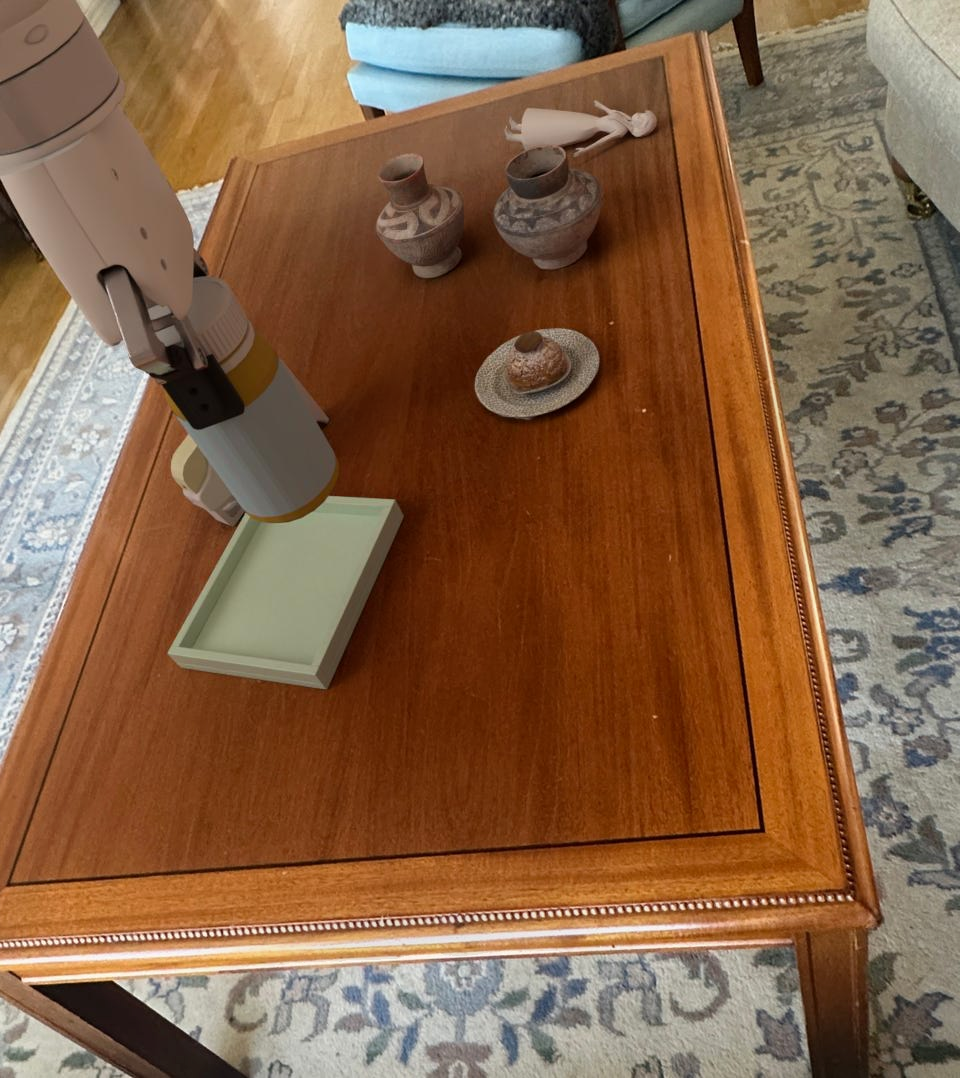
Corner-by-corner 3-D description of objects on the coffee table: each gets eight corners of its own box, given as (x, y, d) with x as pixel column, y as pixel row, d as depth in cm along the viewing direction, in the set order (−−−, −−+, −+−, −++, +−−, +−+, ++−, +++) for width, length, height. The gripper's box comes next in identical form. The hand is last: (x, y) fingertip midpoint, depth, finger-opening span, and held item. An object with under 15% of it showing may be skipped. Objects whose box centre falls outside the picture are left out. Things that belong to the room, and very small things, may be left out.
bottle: (353, 445, 66) (252, 262, 55) (328, 525, 62) (213, 345, 51) (263, 454, 69) (149, 281, 58) (232, 532, 64) (103, 361, 53)
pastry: (609, 406, 87) (599, 367, 84) (480, 438, 90) (465, 402, 86) (593, 324, 95) (583, 285, 92) (475, 355, 97) (461, 319, 94)
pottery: (412, 236, 115) (375, 143, 106) (621, 216, 105) (599, 111, 96) (381, 299, 108) (339, 205, 100) (600, 283, 99) (575, 178, 90)
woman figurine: (517, 88, 120) (663, 76, 114) (523, 122, 124) (666, 112, 118) (491, 141, 114) (645, 132, 108) (499, 175, 117) (649, 168, 111)
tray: (327, 690, 77) (315, 675, 75) (180, 668, 83) (166, 653, 81) (404, 516, 86) (395, 499, 84) (267, 507, 92) (256, 491, 90)
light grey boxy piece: (226, 534, 95) (311, 414, 99) (245, 542, 93) (331, 420, 97) (154, 469, 86) (252, 340, 90) (174, 477, 84) (272, 345, 89)
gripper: (-9, 50, 51) (168, 317, 64) (-76, 214, 40) (157, 499, 53) (121, -4, 51) (273, 276, 64) (92, 146, 39) (286, 452, 52)
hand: (219, 375), depth 58 cm, fingers closed on bottle, 7 cm apart
